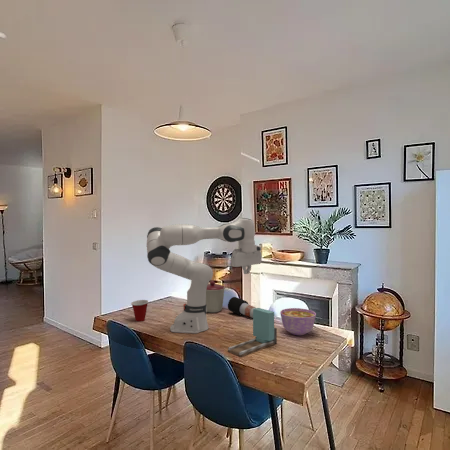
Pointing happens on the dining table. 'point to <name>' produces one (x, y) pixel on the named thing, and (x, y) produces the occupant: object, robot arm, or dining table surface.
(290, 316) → the bowl of food
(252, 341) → the rail
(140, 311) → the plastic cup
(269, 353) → the dining table surface
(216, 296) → the canister
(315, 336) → the dining table surface
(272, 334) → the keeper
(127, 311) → the dining table surface
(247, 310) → the cable
